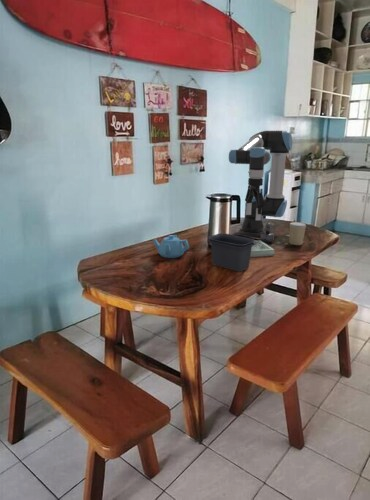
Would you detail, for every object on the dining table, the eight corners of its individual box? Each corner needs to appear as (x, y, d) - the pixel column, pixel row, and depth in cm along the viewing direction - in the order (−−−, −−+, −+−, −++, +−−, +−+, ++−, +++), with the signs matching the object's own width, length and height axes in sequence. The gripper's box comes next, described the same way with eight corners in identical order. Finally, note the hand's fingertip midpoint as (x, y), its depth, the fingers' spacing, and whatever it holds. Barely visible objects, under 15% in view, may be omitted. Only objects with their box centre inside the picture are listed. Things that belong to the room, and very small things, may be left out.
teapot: (166, 261, 188) (166, 240, 185) (151, 253, 200) (151, 234, 197) (190, 256, 196) (191, 236, 193) (175, 249, 208) (175, 230, 205)
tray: (229, 247, 213) (229, 241, 212) (259, 245, 217) (260, 240, 216) (240, 257, 195) (241, 251, 194) (274, 255, 199) (274, 249, 198)
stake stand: (258, 240, 227) (259, 222, 224) (270, 239, 229) (271, 221, 226) (263, 244, 220) (265, 225, 216) (275, 243, 222) (277, 224, 218)
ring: (238, 247, 210) (238, 241, 209) (256, 246, 212) (256, 240, 211) (245, 253, 199) (245, 247, 198) (264, 252, 202) (264, 246, 201)
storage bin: (204, 264, 184) (205, 237, 179) (222, 257, 195) (223, 231, 190) (240, 275, 170) (242, 245, 166) (258, 267, 181) (260, 239, 177)
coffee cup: (302, 241, 226) (304, 222, 223) (305, 245, 217) (307, 225, 214) (286, 240, 227) (288, 221, 223) (289, 245, 218) (291, 225, 215)
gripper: (240, 175, 205) (238, 212, 211) (258, 180, 182) (255, 222, 188) (253, 174, 206) (250, 212, 213) (272, 180, 183) (269, 222, 190)
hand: (253, 217), depth 200 cm, fingers open, 13 cm apart
